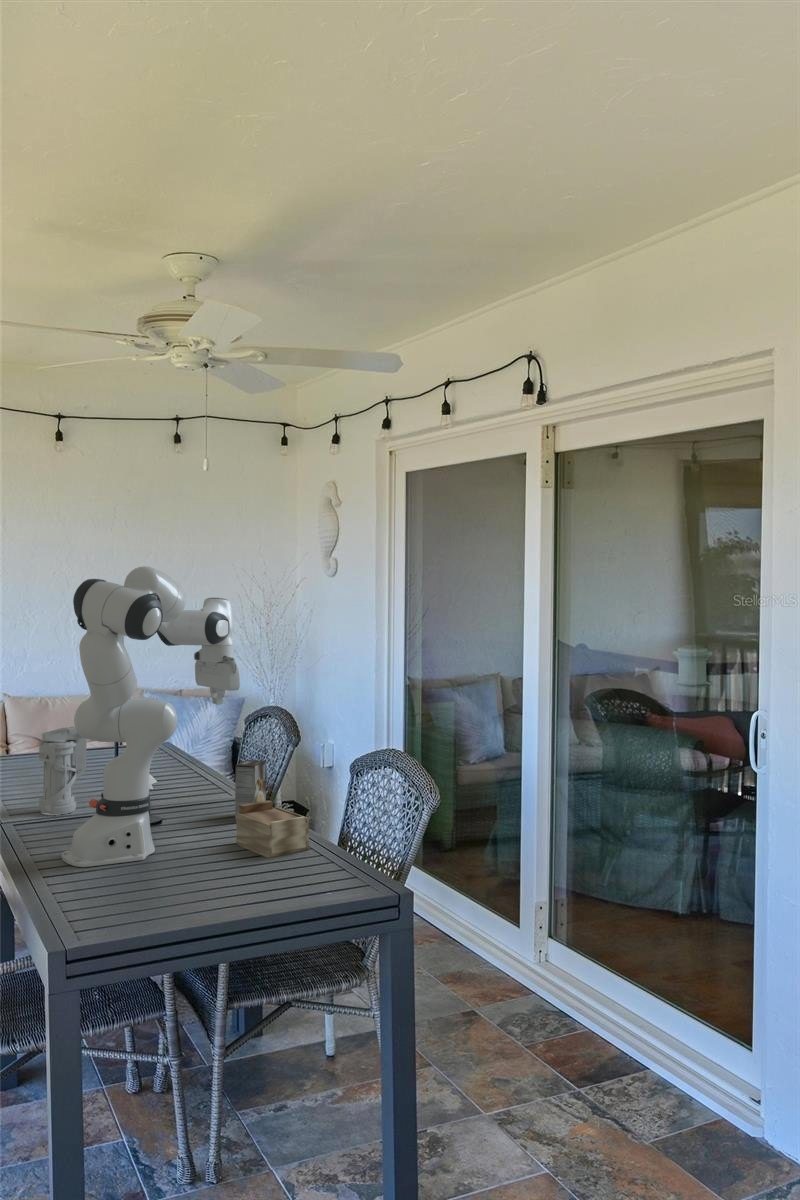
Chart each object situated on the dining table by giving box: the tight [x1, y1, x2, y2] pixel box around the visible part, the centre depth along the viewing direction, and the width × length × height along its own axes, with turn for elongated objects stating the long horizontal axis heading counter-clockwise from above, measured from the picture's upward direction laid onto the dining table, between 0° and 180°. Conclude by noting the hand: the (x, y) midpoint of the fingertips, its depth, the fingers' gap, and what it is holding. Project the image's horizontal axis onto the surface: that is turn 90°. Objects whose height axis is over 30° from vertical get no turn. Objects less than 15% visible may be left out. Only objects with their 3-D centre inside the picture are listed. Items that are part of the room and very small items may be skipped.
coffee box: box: [234, 759, 267, 821], centre depth 286 cm, size 9×6×16 cm
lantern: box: [38, 725, 87, 814], centre depth 291 cm, size 13×10×25 cm
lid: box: [239, 799, 298, 825], centre depth 254 cm, size 10×16×3 cm, turn 39°
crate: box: [236, 806, 310, 859], centre depth 253 cm, size 12×16×9 cm
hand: (217, 704), depth 276 cm, fingers closed
